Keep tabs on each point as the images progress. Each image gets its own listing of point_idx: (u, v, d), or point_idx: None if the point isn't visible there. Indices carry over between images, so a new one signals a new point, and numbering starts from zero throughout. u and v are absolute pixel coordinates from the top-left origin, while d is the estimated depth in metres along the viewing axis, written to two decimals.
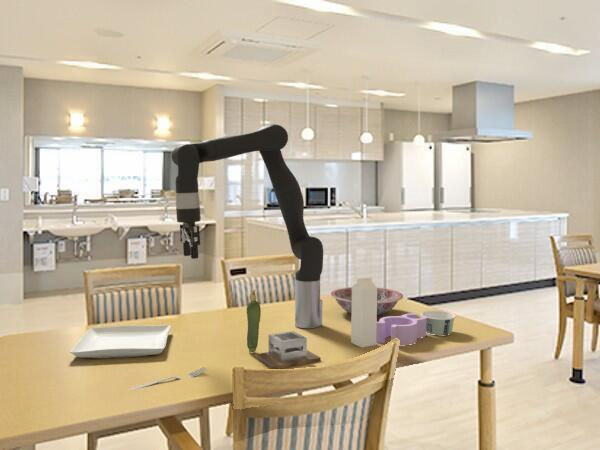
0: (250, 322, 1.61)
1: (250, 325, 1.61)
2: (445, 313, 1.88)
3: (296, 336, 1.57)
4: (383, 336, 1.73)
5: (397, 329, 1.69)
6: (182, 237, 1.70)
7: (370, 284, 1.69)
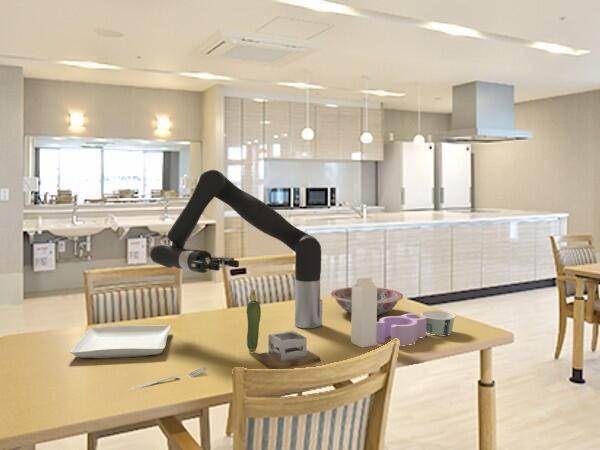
0: (250, 322, 1.61)
1: (250, 325, 1.61)
2: (445, 313, 1.88)
3: (296, 336, 1.57)
4: (383, 336, 1.73)
5: (397, 329, 1.69)
6: (220, 267, 1.73)
7: (370, 284, 1.69)
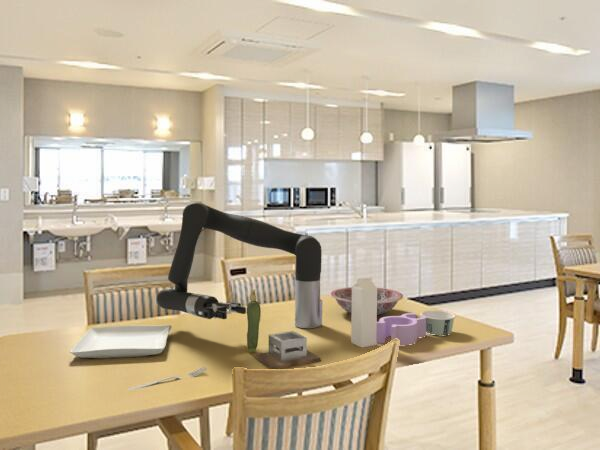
0: (250, 322, 1.61)
1: (250, 325, 1.61)
2: (445, 313, 1.88)
3: (296, 336, 1.57)
4: (383, 336, 1.73)
5: (397, 329, 1.69)
6: (227, 313, 1.73)
7: (370, 284, 1.69)
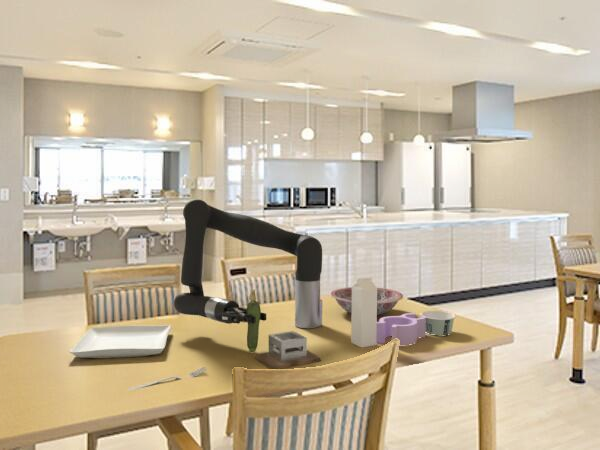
0: None
1: (250, 325, 1.61)
2: (445, 313, 1.88)
3: (296, 336, 1.57)
4: (383, 336, 1.72)
5: (397, 329, 1.69)
6: None
7: (370, 284, 1.69)
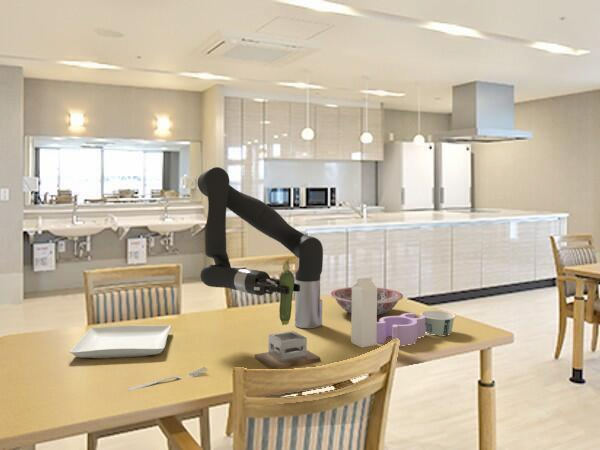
0: None
1: (283, 296, 1.53)
2: (445, 313, 1.88)
3: (296, 336, 1.57)
4: (383, 336, 1.72)
5: (398, 329, 1.69)
6: None
7: (370, 284, 1.69)
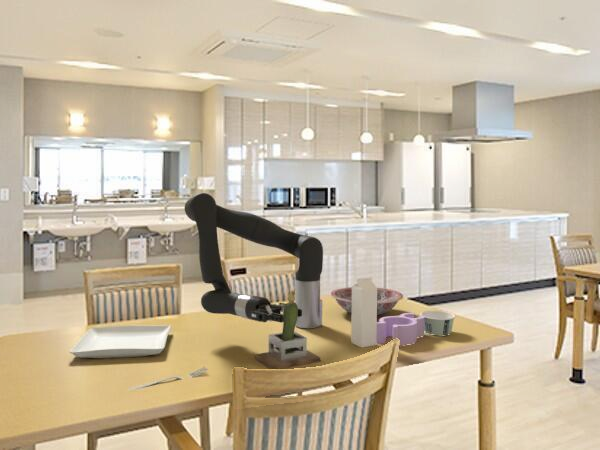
0: (286, 323, 1.55)
1: (286, 326, 1.55)
2: (445, 314, 1.88)
3: (296, 336, 1.57)
4: (384, 336, 1.72)
5: (398, 329, 1.69)
6: None
7: (370, 284, 1.69)
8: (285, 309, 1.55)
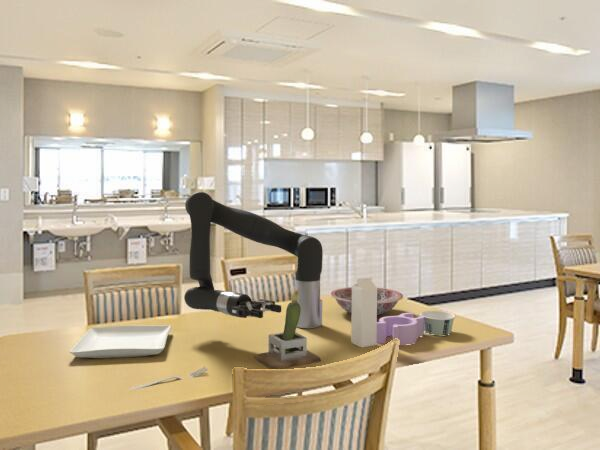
0: (288, 322, 1.56)
1: (288, 325, 1.56)
2: (445, 314, 1.88)
3: (296, 336, 1.57)
4: (384, 336, 1.72)
5: (399, 329, 1.69)
6: None
7: (370, 284, 1.69)
8: (288, 308, 1.57)
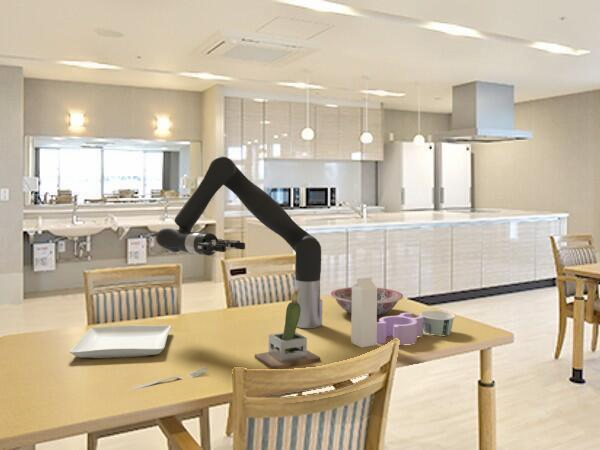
0: (288, 322, 1.56)
1: (288, 325, 1.56)
2: (445, 314, 1.88)
3: (296, 336, 1.57)
4: (384, 336, 1.72)
5: (399, 329, 1.69)
6: None
7: (370, 284, 1.69)
8: (288, 308, 1.57)
